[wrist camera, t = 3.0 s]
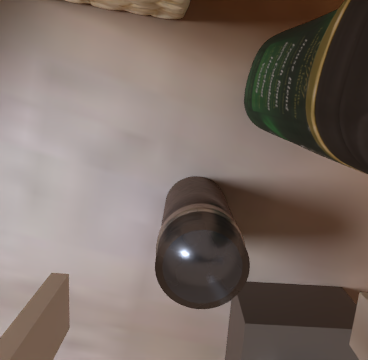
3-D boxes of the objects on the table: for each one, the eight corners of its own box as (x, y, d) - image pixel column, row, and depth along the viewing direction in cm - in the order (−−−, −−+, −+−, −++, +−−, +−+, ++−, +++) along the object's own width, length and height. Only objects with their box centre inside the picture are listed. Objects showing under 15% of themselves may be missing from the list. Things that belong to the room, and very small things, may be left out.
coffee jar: (231, 126, 28) (323, 178, 10) (260, 24, 26) (438, -145, 8) (343, 154, 28) (625, 253, 10) (378, 57, 26) (797, -30, 8)
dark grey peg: (165, 173, 29) (155, 218, 18) (229, 177, 29) (257, 224, 18) (162, 233, 30) (151, 308, 19) (223, 236, 30) (246, 313, 19)
